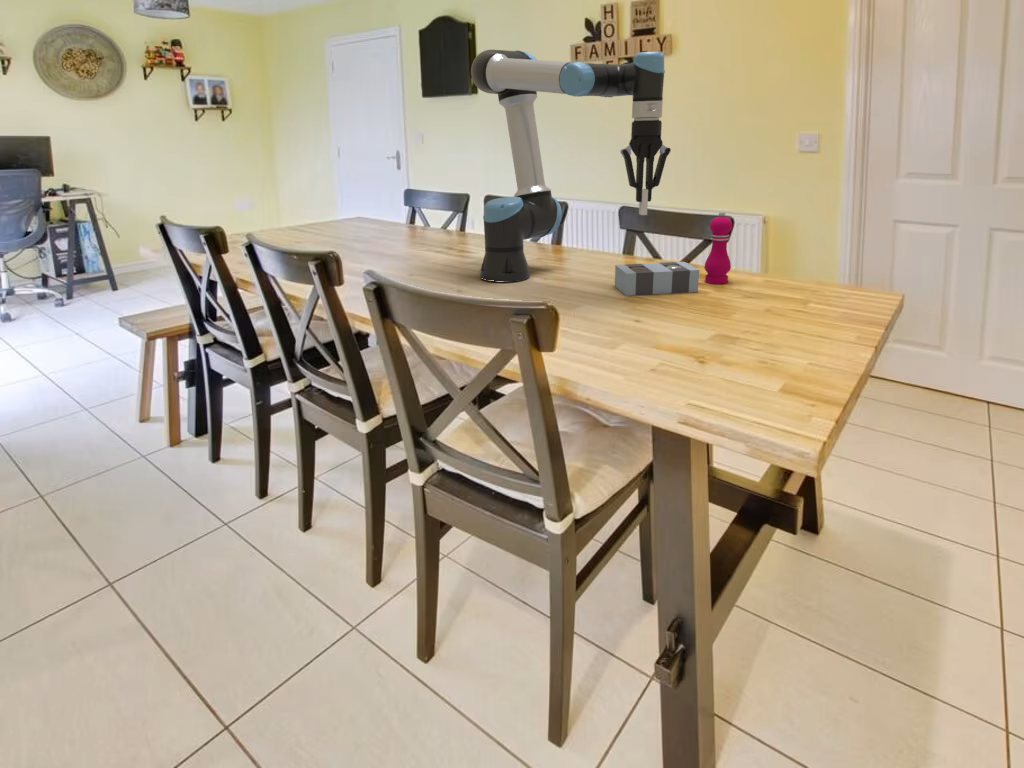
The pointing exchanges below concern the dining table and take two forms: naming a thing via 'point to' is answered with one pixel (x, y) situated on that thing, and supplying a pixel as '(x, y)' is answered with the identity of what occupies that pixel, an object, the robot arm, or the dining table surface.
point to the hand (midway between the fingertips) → (642, 214)
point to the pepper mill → (718, 251)
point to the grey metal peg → (673, 266)
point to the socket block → (656, 278)
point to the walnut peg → (638, 268)
